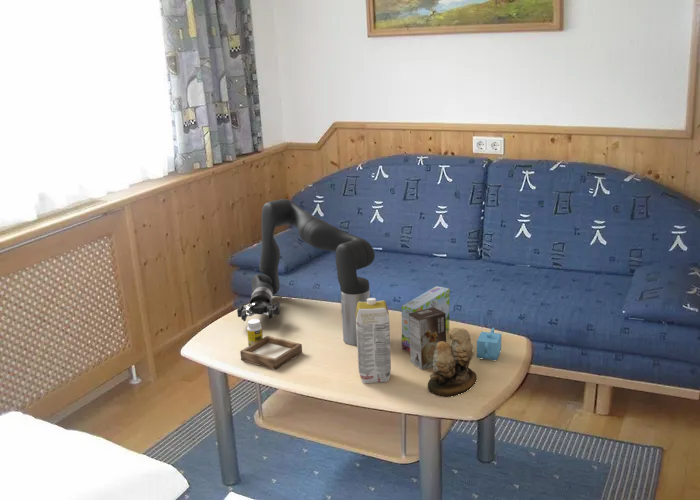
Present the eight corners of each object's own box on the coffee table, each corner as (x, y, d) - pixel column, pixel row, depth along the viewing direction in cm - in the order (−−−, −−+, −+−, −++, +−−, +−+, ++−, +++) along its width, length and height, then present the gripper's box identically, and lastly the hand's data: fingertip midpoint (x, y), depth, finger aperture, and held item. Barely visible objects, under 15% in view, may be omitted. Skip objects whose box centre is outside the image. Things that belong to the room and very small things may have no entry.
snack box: (416, 354, 223) (415, 309, 218) (401, 350, 226) (399, 305, 222) (450, 330, 239) (450, 287, 234) (436, 326, 242) (435, 284, 238)
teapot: (483, 346, 226) (483, 323, 224) (502, 348, 224) (503, 325, 222) (475, 362, 216) (475, 339, 213) (496, 365, 213) (496, 341, 211)
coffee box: (435, 354, 222) (434, 306, 217) (447, 362, 216) (446, 313, 212) (409, 362, 218) (408, 312, 213) (421, 370, 212) (420, 320, 208)
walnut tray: (302, 352, 228) (301, 344, 227) (276, 369, 218) (275, 360, 217) (267, 344, 235) (267, 335, 234) (241, 359, 225) (240, 351, 224)
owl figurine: (451, 366, 215) (451, 312, 209) (487, 376, 208) (488, 321, 202) (417, 390, 201) (417, 334, 196) (455, 402, 194) (455, 344, 189)
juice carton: (390, 370, 213) (387, 294, 206) (392, 383, 206) (389, 305, 198) (358, 372, 213) (354, 296, 206) (359, 385, 206) (355, 306, 198)
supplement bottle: (256, 349, 232) (254, 325, 229) (245, 346, 234) (243, 322, 232) (266, 343, 236) (264, 319, 233) (254, 341, 238) (252, 317, 236)
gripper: (240, 291, 256) (234, 308, 240) (280, 289, 256) (277, 306, 240) (242, 311, 258) (236, 329, 242) (282, 308, 258) (279, 327, 243)
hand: (256, 317), depth 241 cm, fingers open, 8 cm apart
